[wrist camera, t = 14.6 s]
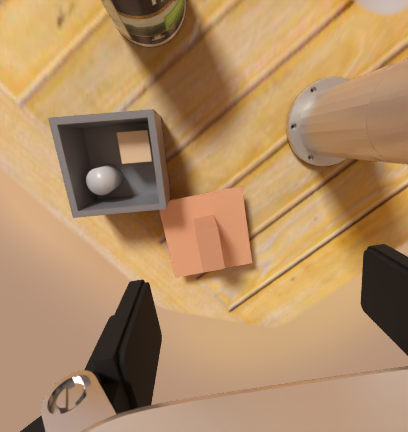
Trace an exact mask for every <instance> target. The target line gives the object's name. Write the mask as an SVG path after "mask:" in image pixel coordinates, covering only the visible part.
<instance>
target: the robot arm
mask: <svg viewBox="0 0 408 432" xmlns="http://www.w3.org/2000/svg"><path fill="white" fill-rule="evenodd" d="M311 90H312V92H311ZM291 125H292V126H293V128H292V129H291ZM286 131H287V138H288V141H289V144H290V146H291V148H292V150H293V152H294V153H295V154H296V155H297V156H298V157H299V158H300V159H301V160H303V161H304V162H307V163H309V164H312V165H316V166H331V165H335V164H338V163H340V162H342V161H344V160H346V159H357V160H368V161H378V162H388V163H398V164H408V58H406V59H404V60H401V61H399V62H396V63H393V64H391V65H388V66H386V67H383V68H380V69H378V70H375V71H373V72H370V73H368V74H365V75H362V76H360V77H357V78H355V79H352V80H350V79H347V78H343V77H328V78H323V79H321V80H318V81H316V82H314V83H312V84H311V85H309V86H308V87H307V88H305V89H304V90H303V91H302V92H301V93H300V94H299V95H298V96H297V98H296V99H295V101H294V102H293V104H292V106H291V109H290V111H289V114H288V118H287V127H286ZM308 156H309V159H308ZM361 306H362V308H363V311H364V312H365V313H366V314H367V315H368V316H369V317H370V318H371V319H372V320H373V321H374V322H375V323H376V324H377V325H378V326H379V327H380V328H381V329H382V330H383V331H384V332H385V333H386V334H387V335H388V336H389V337H390V338H391V339H392V340H393V341H394V342H395V343H396V344H397V345H398V346H399V347H400V348H401V349H402V350H403V351H404V352H405V353H406V354H407V355H408V257H407V256H405V255H403V254H402V253H400V252H398V251H396V250H394V249H393V248H391V247H389V246H387V245H385V244H381V245H374V246H369V247H368V248H367V250H365V251H364V255H363V273H362V291H361ZM161 341H162V335H161V329H160V326H159V321H158V317H157V314H156V309H155V305H154V301H153V297H152V293H151V289H150V285H149V283H148V282H147V283H145V281H144V280H137V281H131V282H129V284H128V286H127V289H126V291H125V293H124V295H123V297H122V300H121V302H120V304H119V306H118V308H117V310H116V313H115V315H113V316H111V317H110V318H109V320H108V322H107V324H106V326H105V328H104V330H103V332H102V334H101V336H100V338H99V340H98V343H97V345H96V347H95V349H94V351H93V353H92V355H91V357H90V359H89V361H88V363H87V366H86V368H85V370H84V371H77V372H74V373H71V374H69V375H68V376H66V377H64V378H62V379H61V380H60V381H59V382H57V383H56V384H55V385H54V386H53V387H52V388H51V389H50V390H49V392H48V393H47V395H46V396H45V398H44V400H43V402H42V405H41V416H40V417H39V418H37V419H36V420H35V421H33V422H32V423H31V424H30V425H28V426H27V427H26V428H24V429H23V430H22V431H20V432H408V366H406V367H398V368H391V369H384V370H376V371H370V372H363V373H355V374H348V375H341V376H334V377H328V378H320V379H314V380H306V381H300V382H293V383H286V384H279V385H273V386H266V387H259V388H252V389H246V390H239V391H233V392H226V393H219V394H212V395H207V396H200V397H194V398H188V399H182V400H176V401H170V402H165V403H159V404H155V405H151V402H152V396H153V389H154V384H155V378H156V371H157V366H158V359H159V354H160V347H161Z"/></svg>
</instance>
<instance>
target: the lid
mask: <svg viewBox="0 0 408 432" xmlns="http://www.w3.org/2000/svg"><path fill="white" fill-rule="evenodd" d="M159 212H160V216H161V220H162V225H163V229H164V233H165V237H166V241H167V245H168V249H169V253H170V257H171V261H172V265H173V269H174V274H175V278H177V277H183V276H188V275H193V274H198V273H204V272H209V271H215V270H220V269H225V268H229V267H234V266H240V265H245V264H250V263H252V258H251V250H250V243H249V236H248V228H247V221H246V214H245V206H244V199H243V191H242V187H241V186H240V187H235V188H230V189H225V190H219V191H214V192H209V193H204V194H198V195H193V196H188V197H183V198H177V199H172V200H169V203H168V206H167V209H161V210H159Z"/></svg>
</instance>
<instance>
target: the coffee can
mask: <svg viewBox="0 0 408 432" xmlns="http://www.w3.org/2000/svg"><path fill="white" fill-rule="evenodd" d="M101 2H102V3H103V5H104V7H105V8H106V10H107V12H108V13H109V15H110V16H111V18H112V21H113V22H114V24H115V26H116V27H117V29H118V30H119V31H120V32H121V34H122V35H123V36H125V37H126V38H127V39H128V40H130V41H131V42H133V43H135V44H138V45H140V46H145V47H155V46H159V45H162V44H164V43H166V42H168V41H169V40H170V39H172V38H173V37H174V36H175V34H176V33H177V32H178V30H179V29H180V27H181V25H182V23H183V20H184V16H185V10H186V0H101Z"/></svg>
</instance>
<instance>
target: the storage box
mask: <svg viewBox="0 0 408 432" xmlns="http://www.w3.org/2000/svg"><path fill="white" fill-rule="evenodd" d="M48 119H49V123H50V127H51V131H52V135H53V139H54V143H55V147H56V151H57V155H58V159H59V163H60V167H61V171H62V175H63V179H64V183H65V187H66V191H67V195H68V199H69V204H70V208H71V212H72V216H73V218H76V217H87V216H97V215H108V214H119V213H129V212H140V211H150V210H161V209H167V206H168V203H169V200H170V197H171V194H170V186H169V178H168V170H167V162H166V154H165V146H164V138H163V130H162V122H161V116H160V115H159V114H158V113H157V112H156V111H155V110H140V111H128V112H116V113H103V114H91V115H78V116H66V117H53V118H48Z"/></svg>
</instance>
